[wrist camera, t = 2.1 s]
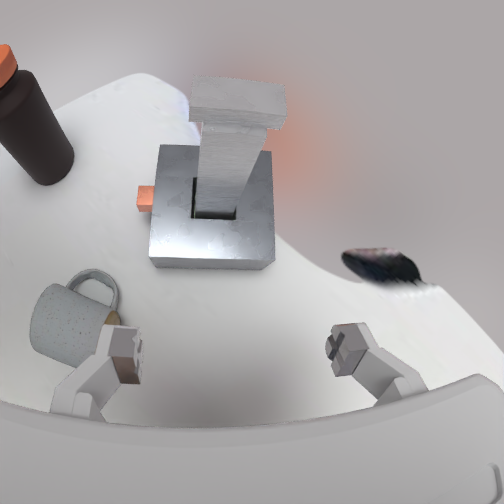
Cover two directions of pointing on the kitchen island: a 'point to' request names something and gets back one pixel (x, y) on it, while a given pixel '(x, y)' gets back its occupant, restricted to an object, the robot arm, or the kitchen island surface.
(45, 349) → the ceramic mug
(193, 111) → the column
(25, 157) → the bottle
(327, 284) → the kitchen island surface
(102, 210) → the kitchen island surface
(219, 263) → the stand sleeve
